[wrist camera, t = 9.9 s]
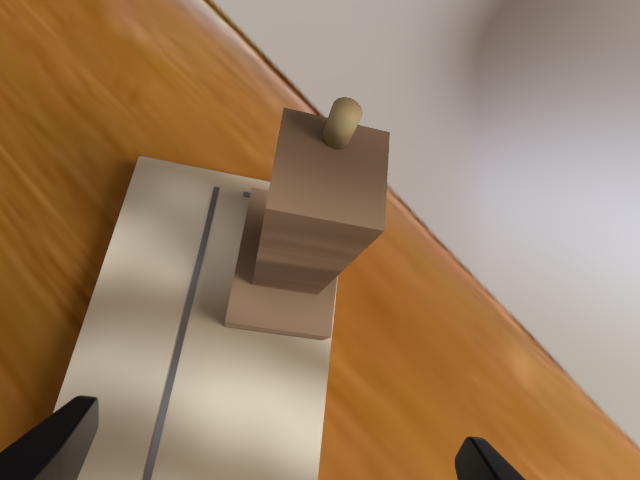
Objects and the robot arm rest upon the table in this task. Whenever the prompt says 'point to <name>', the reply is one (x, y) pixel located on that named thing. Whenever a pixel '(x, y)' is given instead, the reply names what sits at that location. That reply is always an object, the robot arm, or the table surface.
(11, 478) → the robot arm
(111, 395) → the birch board
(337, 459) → the table surface
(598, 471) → the table surface
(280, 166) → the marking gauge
